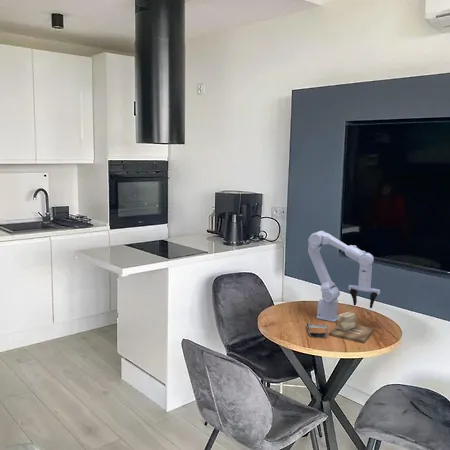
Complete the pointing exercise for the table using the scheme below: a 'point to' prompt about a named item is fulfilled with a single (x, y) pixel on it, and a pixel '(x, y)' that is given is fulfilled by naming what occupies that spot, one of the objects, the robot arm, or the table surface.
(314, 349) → the table surface
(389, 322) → the table surface
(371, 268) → the robot arm
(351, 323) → the block
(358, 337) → the walnut board
